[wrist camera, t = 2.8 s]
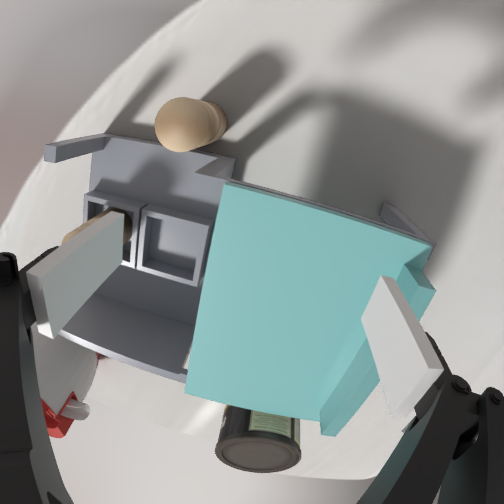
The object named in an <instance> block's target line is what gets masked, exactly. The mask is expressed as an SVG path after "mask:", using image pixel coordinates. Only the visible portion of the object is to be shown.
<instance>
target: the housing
mask: <svg viewBox="0 0 504 504" xmlns="http://www.w3.org/2000/svg"><path fill="white" fill-rule="evenodd" d="M92 152H93V153H92ZM88 153H92V162H91V173H90V186H89V192H88V193H86V194H84V209H83V224H84V223H85V222H87V221H89V220H90V219H92V218H93V217H95V216H97V215H98V214H100V213H102V212H103V211H105V210H107V209H108V208H111V207H115V208H119V209H123V210H125V211H126V212H127V213H128V214H129V216H130V217H131V219H132V222H133V228H132V237H131V238H130V240H129V241H127V242H126V243H125V244H124V245H123V253H122V263H121V264H120V265H119V266H118V267H117V268H116V269H115V270H114V272H113V273H112V274H111V275H110V276H109V277H108V278H107V279H106V280H105V281H104V282H103V283H102V284H101V285H100V286H99V288H98V289H97V290H96V291H95V292H94V293H93V294H92V295H91V296H90V297H89V299H88V300H87V301H86V302H85V303H84V304H83V305H82V306H81V308H80V309H79V310H78V311H77V312H76V313H75V314H74V316H73V317H72V318H71V319H70V320H69V321H68V322H67V324H66V325H65V326H64V327H63V328H62V329H61V331H60V332H59V333H58V335H60V336H62V337H64V338H66V339H68V340H71V341H73V342H75V343H77V344H79V345H82V346H84V347H86V348H89V349H91V350H93V351H96V352H98V353H101V354H103V355H105V356H108V357H110V358H113V359H115V360H118V361H121V362H123V363H126V364H129V365H131V366H134V367H137V368H140V369H142V370H145V371H148V372H151V373H154V374H157V375H160V376H163V377H166V378H169V379H172V380H176V381H179V382H182V383H185V384H186V379H187V372H188V370H187V369H184V366H185V363H186V360H187V358H188V355H189V353H190V350H191V347H192V342H193V336H194V331H195V325H196V319H197V314H198V308H199V303H200V297H201V292H202V287H203V282H204V276H205V271H206V266H207V261H208V256H209V251H210V246H211V241H212V237H213V232H214V227H215V222H216V218H217V213H218V208H219V204H220V199H221V195H222V190H223V186H224V183H225V182H226V181H228V182H232V183H236V184H240V185H243V186H247V187H251V188H255V189H259V190H263V191H266V192H270V193H274V194H277V195H281V196H285V197H288V198H292V199H295V200H299V201H302V202H306V203H309V204H313V205H316V206H319V207H323V208H326V209H329V210H333V211H336V212H339V213H342V214H346V215H349V216H352V217H355V218H358V219H361V220H365V221H368V222H371V223H374V224H377V225H380V226H383V227H386V228H389V229H392V230H395V231H398V232H401V233H403V234H406V235H409V236H412V237H415V238H418V239H420V240H423V241H426V242H428V243H429V244H430V245H431V246H432V247H433V248H432V250H431V252H430V255H429V257H428V259H427V260H429V258H430V256H431V253H432V251H433V249H434V247H435V243H434V242H433V241H432V240H431V239H430V238H429V237H428V236H427V235H426V234H425V233H424V232H423V231H421V230H420V229H419V228H418V227H417V226H416V225H415V224H414V223H413V222H412V221H411V220H410V219H408V218H407V217H406V216H405V215H404V214H403V213H402V212H401V211H400V210H398V209H397V208H396V207H394V206H392V205H389V204H386V203H384V204H383V207H382V210H381V212H380V216H381V218H382V219H383V220H384V221H385V222H386V223H387V224H388V225H387V224H384V223H381V222H378V221H375V220H372V219H369V218H366V217H363V216H360V215H357V214H354V213H351V212H348V211H344V210H341V209H338V208H335V207H331V206H328V205H325V204H321V203H318V202H315V201H311V200H308V199H305V198H301V197H298V196H294V195H290V194H287V193H283V192H280V191H276V190H272V189H269V188H265V187H261V186H257V185H254V184H250V183H246V182H242V181H238V180H234V179H231V178H232V173H233V169H234V165H235V161H236V159H235V158H231V157H226V156H222V155H218V154H213V153H209V152H204V151H200V150H195V149H193V150H190V151H186V152H174V151H171V150H169V149H167V148H166V147H164V146H163V145H162V144H161V143H160V142H155V141H149V140H143V139H137V138H131V137H125V136H119V135H112V134H105V133H103V134H97V135H91V136H85V137H80V138H75V139H70V140H65V141H60V142H55V143H51V144H46V145H45V153H44V161H47V162H52V163H57V162H60V161H64V160H67V159H70V158H74V157H77V156H81V155H85V154H88Z"/></svg>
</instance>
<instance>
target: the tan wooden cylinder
mask: <svg viewBox="0 0 504 504" xmlns="http://www.w3.org/2000/svg"><path fill="white" fill-rule="evenodd" d="M111 211H113V212H118V213H122V214H124V227H123V245H124V244H125V243H126V242H127V241H129V240H130V238H131V237H132V228H133V222H132V219H131V217H130V216H129V214H128V213H127V212H126V211H125V210H123V209H119V208H115V207H111V208H108V209H107V210H105V211H103V212H102V213H100V214H98V215H97V216H95V217H93V218H92V219H90V220H89V221H87V222H85V223H84V224H82V225H81V226H79V227H78V228H76V229H75V230H73V231H72V232H70V233H68V234H67V235H66V236H65V237H64V239H63V241H62V244H64V243H65V242H67V241H68V240H69V239H71V238H72V237H74V236H75V235H77V234H78V233H79V232H81V231H82V230H84V229H85V228H87V227H88V226H90V225H91V224H93V223H94V222H96V221H97V220H99V219H100V218H102V217H103V216H105V215H106V214H108V213H109V212H111Z"/></svg>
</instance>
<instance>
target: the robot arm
mask: <svg viewBox="0 0 504 504" xmlns="http://www.w3.org/2000/svg"><path fill="white" fill-rule="evenodd" d="M123 227H124V214H122V213H118V212H113V211H111V212H109V213H108V214H106V215H105V216H103V217H102V218H100V219H99V220H97V221H96V222H94V223H93V224H91V225H90V226H88V227H87V228H85V229H84V230H82V231H81V232H79V233H78V234H77V235H75V236H74V237H72V238H71V239H69V240H68V241H67V242H65V243H64V244H62V245H61V246H60V247H59V246H56V247H54V248H51V249H48V250H47V251H45V252H44V253H42V254H41V255H40V256H38V257H37V258H36V259H34V261H32V262H30V263H29V264H28V265H26V266H25V267H24V268H22V269H21V270H20V271H18V265H17V259H16V256H15V255H14V254H13V253H9V252H2V253H0V504H74V503H73V501H72V499H71V497H70V496H69V494H68V492H67V490H66V488H65V486H64V484H63V481H62V478H61V475H60V472H59V469H58V466H57V463H56V459H55V456H54V453H53V450H52V446H51V442H50V438H49V434H48V430H47V426H46V422H45V417H44V412H43V408H42V402H41V397H40V391H39V385H38V379H37V372H36V364H35V356H34V346H33V334H32V330H31V326H32V325H33V324H34V323H35V321H36V323H37V327H38V331H39V333H41V334H43V335H45V336H47V337H50V338H52V339H54V338H55V337H56V335H57V334H58V333H59V332H60V331H61V329H62V328H63V327H64V326H65V325H66V324H67V322H68V321H69V320H70V319H71V318H72V317H73V316H74V314H75V313H76V312H77V311H78V310H79V309H80V308H81V306H82V305H83V304H84V303H85V302H86V301H87V300H88V299H89V297H90V296H91V295H92V294H93V293H94V292H95V291H96V290H97V289H98V288H99V286H100V285H101V284H102V283H103V282H104V281H105V280H106V279H107V278H108V277H109V276H110V275H111V274H112V273H113V272H114V270H115V269H116V268H117V267H118V266H119V265H120V264H121V263H122V253H123ZM361 321H362V324H363V327H364V330H365V333H366V336H367V339H368V342H369V345H370V348H371V351H372V355H373V358H374V361H375V364H376V368H377V371H378V374H379V378H380V381H381V385H382V388H383V392H384V395H385V399H386V403H387V406H388V410H389V414H390V417H406V416H407V415H408V414H409V413H410V412H411V411H412V410H413V408H414V409H415V412H416V416H415V417H414V418H413V419H412V421H411V422H410V423H409V424H408V425H407V426H406V427H405V428H404V429H403V430H402V432H403V433H404V432H405V433H404V435H403V436H402V438H401V440H400V441H399V443H398V445H397V446H396V448H395V450H394V451H393V453H392V454H391V456H390V457H389V459H388V460H387V462H386V463H385V465H384V466H383V468H382V469H381V471H380V472H379V474H378V475H377V477H376V478H375V480H374V481H373V482H372V484H371V485H370V486H369V488H368V489H367V491H366V492H365V493H364V494H363V496H362V497H361V498H360V500H359V501H358V502H357V504H432V503H433V501H434V499H435V497H436V494H437V492H438V490H439V488H440V486H441V489H440V494H439V498H438V504H504V396H503V394H502V393H501V392H500V391H499V390H497V389H495V388H492V387H488V388H487V389H486V390H485V391H484V392H483V393H482V395H479V394H476V393H473V392H471V388H470V385H469V384H468V383H467V382H466V381H465V380H464V379H463V378H462V377H459V376H457V375H452V373H451V371H450V369H449V367H448V365H447V363H446V361H445V359H444V357H443V356H441V352H440V350H439V349H438V346H437V344H436V343H435V341H434V339H433V338H432V337H431V336H430V335H429V334H428V333H427V332H424V330H423V328H422V326H421V324H420V323H419V321H418V319H417V317H416V315H415V314H414V312H413V310H412V308H411V307H410V305H409V303H408V302H407V300H406V298H405V296H404V295H403V293H402V291H401V290H400V288H399V286H398V285H397V283H396V282H395V280H394V278H391V277H387V276H383V275H381V276H380V278H379V280H378V283H377V285H376V287H375V289H374V291H373V294H372V296H371V298H370V300H369V302H368V304H367V306H366V309H365V311H364V313H363V315H362V317H361ZM477 437H478V438H477ZM475 438H477V440H476V442H475Z"/></svg>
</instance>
